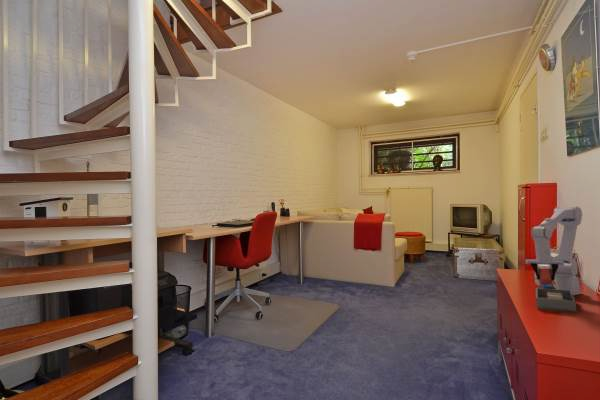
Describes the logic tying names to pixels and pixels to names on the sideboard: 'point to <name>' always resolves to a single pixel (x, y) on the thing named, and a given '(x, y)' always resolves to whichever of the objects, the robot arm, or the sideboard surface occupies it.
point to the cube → (554, 295)
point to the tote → (555, 300)
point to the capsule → (545, 275)
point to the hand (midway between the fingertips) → (545, 279)
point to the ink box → (538, 280)
